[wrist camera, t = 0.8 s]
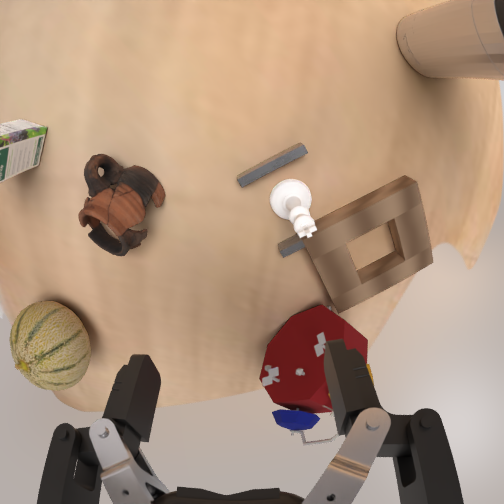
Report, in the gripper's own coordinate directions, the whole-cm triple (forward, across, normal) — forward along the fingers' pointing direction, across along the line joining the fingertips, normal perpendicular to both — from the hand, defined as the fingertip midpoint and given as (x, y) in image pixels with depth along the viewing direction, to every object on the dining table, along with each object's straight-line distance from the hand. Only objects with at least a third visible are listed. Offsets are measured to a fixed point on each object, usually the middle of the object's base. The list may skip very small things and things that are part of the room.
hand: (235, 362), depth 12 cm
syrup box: (+23, +27, -14) cm, 38 cm away
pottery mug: (+24, +14, -3) cm, 27 cm away
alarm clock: (+24, -6, +21) cm, 32 cm away
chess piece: (+24, -6, +1) cm, 24 cm away
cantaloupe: (+23, +34, +16) cm, 44 cm away
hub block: (+24, -16, +8) cm, 30 cm away
